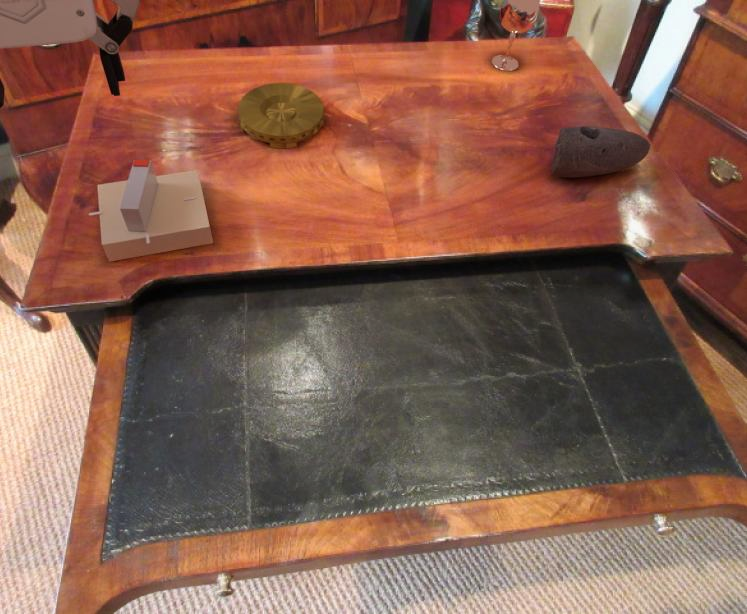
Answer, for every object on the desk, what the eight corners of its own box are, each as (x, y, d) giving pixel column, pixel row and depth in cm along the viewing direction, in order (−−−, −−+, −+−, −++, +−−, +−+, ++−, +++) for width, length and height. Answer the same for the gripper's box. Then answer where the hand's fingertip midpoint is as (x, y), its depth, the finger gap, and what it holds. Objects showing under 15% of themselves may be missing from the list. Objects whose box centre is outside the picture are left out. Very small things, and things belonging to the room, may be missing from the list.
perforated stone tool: (632, 156, 88) (653, 116, 82) (646, 181, 85) (669, 141, 79) (534, 160, 86) (549, 119, 80) (546, 186, 83) (562, 145, 77)
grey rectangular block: (145, 231, 69) (137, 207, 66) (128, 230, 69) (118, 207, 66) (158, 183, 74) (150, 158, 71) (141, 182, 74) (133, 158, 71)
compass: (340, 118, 88) (340, 106, 87) (286, 160, 82) (285, 147, 81) (278, 85, 92) (277, 72, 90) (222, 123, 86) (220, 110, 84)
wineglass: (513, 51, 102) (533, -22, 92) (528, 70, 99) (551, -2, 89) (482, 55, 101) (499, -18, 91) (496, 75, 97) (516, 1, 88)
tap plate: (99, 270, 69) (91, 253, 67) (94, 197, 76) (86, 178, 73) (214, 250, 72) (210, 232, 70) (200, 181, 79) (196, 162, 76)
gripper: (-191, -105, 36) (-53, 131, 50) (112, -112, 40) (163, 107, 54) (-167, -150, 40) (-46, 79, 54) (106, -152, 45) (154, 60, 58)
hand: (58, 93), depth 54 cm, fingers open, 9 cm apart
